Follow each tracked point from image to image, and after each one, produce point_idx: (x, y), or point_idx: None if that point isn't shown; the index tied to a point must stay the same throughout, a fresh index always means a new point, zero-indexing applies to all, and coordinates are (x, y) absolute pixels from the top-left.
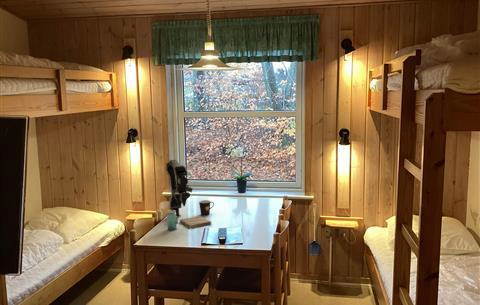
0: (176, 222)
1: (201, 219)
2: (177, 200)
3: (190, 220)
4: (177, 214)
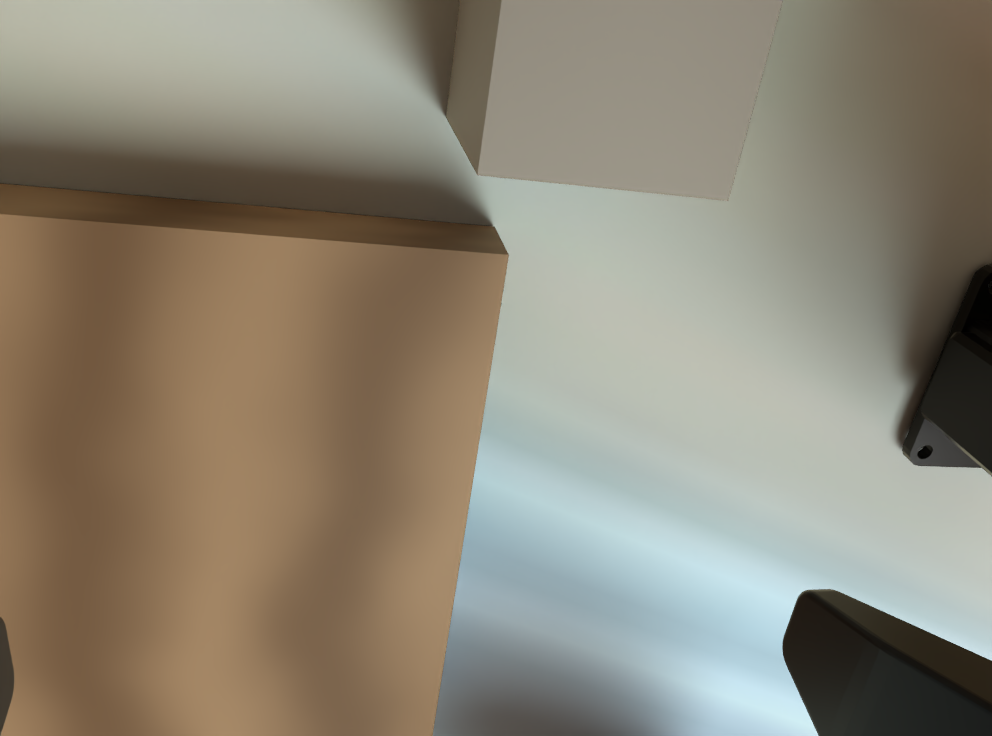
0: (455, 87)
1: (113, 670)
2: (959, 730)
3: (198, 438)
4: (961, 406)
